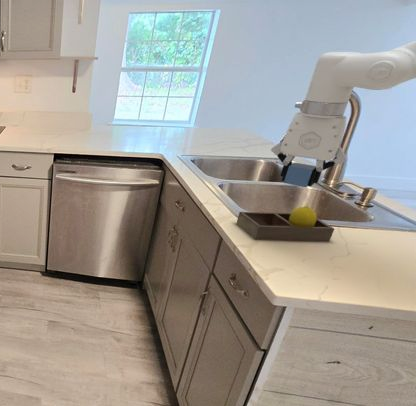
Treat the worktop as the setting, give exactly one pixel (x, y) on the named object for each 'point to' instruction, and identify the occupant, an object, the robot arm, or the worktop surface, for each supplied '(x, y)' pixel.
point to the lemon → (303, 217)
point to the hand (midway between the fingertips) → (297, 181)
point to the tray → (281, 227)
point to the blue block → (299, 174)
